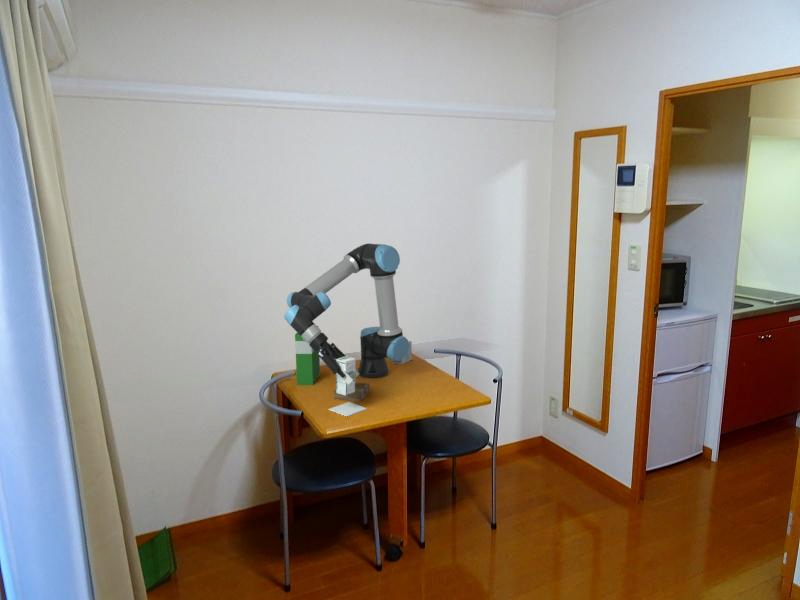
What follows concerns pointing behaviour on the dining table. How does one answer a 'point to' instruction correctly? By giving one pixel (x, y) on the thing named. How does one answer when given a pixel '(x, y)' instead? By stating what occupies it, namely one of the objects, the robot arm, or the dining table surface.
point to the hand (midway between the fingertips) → (354, 379)
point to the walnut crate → (358, 395)
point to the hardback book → (306, 362)
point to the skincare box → (407, 356)
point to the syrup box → (349, 367)
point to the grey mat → (347, 409)
